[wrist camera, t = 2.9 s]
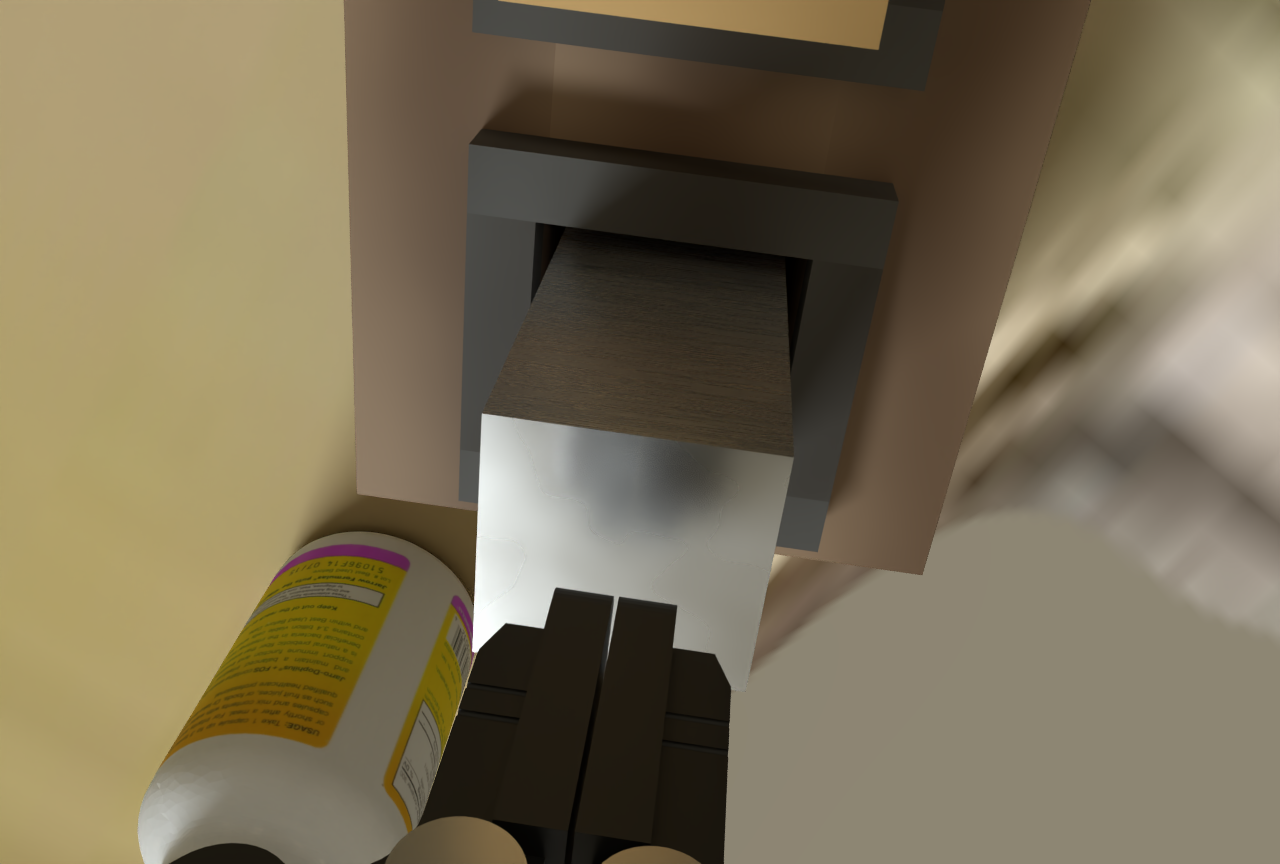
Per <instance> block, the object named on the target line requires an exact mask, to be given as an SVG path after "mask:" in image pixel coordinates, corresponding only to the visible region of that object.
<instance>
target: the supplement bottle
mask: <svg viewBox="0 0 1280 864" xmlns="http://www.w3.org/2000/svg"><path fill="white" fill-rule="evenodd" d="M473 622H474V607H473V604H472V601H471V599H470V597H469V595H468V593H467V591H466V589H465V587H464V586H463V584H462V583H461V582H460V580H459V579H458V578H457V576H456V575H455V574H454V573H453V572H452V571H451V570H450V569H449V568H448V567H447V566H446V565H445V564H443V563H442V562H441V561H440V560H439V559H437V558H436V557H435V556H433V555H432V554H430V553H429V552H427V551H426V550H424V549H422V548H420V547H418V546H417V545H415V544H413V543H411V542H408V541H406V540H403V539H400V538H397V537H394V536H390V535H386V534H381V533H374V532H361V531H356V532H344V533H337V534H333V535H329V536H326V537H322V538H320V539H317V540H315V541H313V542H311V543H309V544H307V545H305V546H304V547H302V548H301V549H299V550H298V551H297V552H296V553H294V554H293V555H292V556H291V557H290V558H289V559H288V560H287V561H286V562H285V564H284V565H283V566H282V567H281V568H280V570H279V571H278V573H277V574H276V576H275V577H274V579H273V581H272V582H271V584H270V585H269V587H268V589H267V590H266V592H265V594H264V595H263V597H262V598H261V600H260V602H259V603H258V605H257V607H256V608H255V610H254V611H253V613H252V615H251V617H250V618H249V620H248V621H247V623H246V625H245V627H244V628H243V630H242V631H241V633H240V635H239V636H238V638H237V640H236V641H235V643H234V645H233V646H232V648H231V650H230V651H229V653H228V655H227V656H226V658H225V660H224V661H223V663H222V665H221V666H220V668H219V670H218V671H217V673H216V675H215V676H214V678H213V680H212V681H211V683H210V685H209V686H208V688H207V690H206V691H205V693H204V695H203V696H202V698H201V700H200V701H199V703H198V705H197V706H196V708H195V710H194V711H193V713H192V714H191V716H190V718H189V719H188V721H187V723H186V724H185V726H184V728H183V729H182V731H181V733H180V734H179V736H178V738H177V739H176V741H175V742H174V744H173V746H172V747H171V749H170V751H169V752H168V754H167V756H166V757H165V759H164V761H163V762H162V764H161V766H160V767H159V769H158V771H157V773H156V774H155V776H154V778H153V780H152V782H151V784H150V785H149V787H148V789H147V791H146V793H145V795H144V799H143V802H142V805H141V808H140V813H139V820H138V839H139V845H140V850H141V854H142V857H143V860H144V863H145V864H169V863H171V862H173V861H175V860H176V859H178V858H180V857H182V856H184V855H186V854H188V853H190V852H192V851H195V850H198V849H201V848H203V847H207V846H212V845H216V844H224V843H243V844H249V845H254V846H258V847H260V848H263V849H266V850H268V851H269V852H271V853H273V854H274V855H276V856H277V857H278V858H279V859H281V860H282V861H283V862H284V863H285V864H371V863H373V862H375V861H378V860H380V859H382V858H383V857H385V856H387V855H388V854H390V853H391V851H392V849H393V848H394V847H395V846H396V844H397V843H398V842H399V841H400V840H401V839H402V838H403V837H404V836H405V835H407V834H408V833H409V832H410V831H412V830H414V829H415V828H416V827H417V825H418V824H419V821H420V819H421V817H422V815H423V812H424V808H425V805H426V802H427V799H428V796H429V793H430V790H431V787H432V784H433V781H434V778H435V774H436V771H437V768H438V765H439V763H440V760H441V757H442V754H443V750H444V747H445V744H446V741H447V738H448V736H449V732H450V729H451V726H452V723H453V720H454V717H455V714H456V711H457V708H458V705H459V701H460V699H461V696H462V693H463V690H464V686H465V683H466V680H467V677H468V674H469V671H470V668H471V664H472V660H473V656H474V653H475V652H472V647H473Z"/></svg>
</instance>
